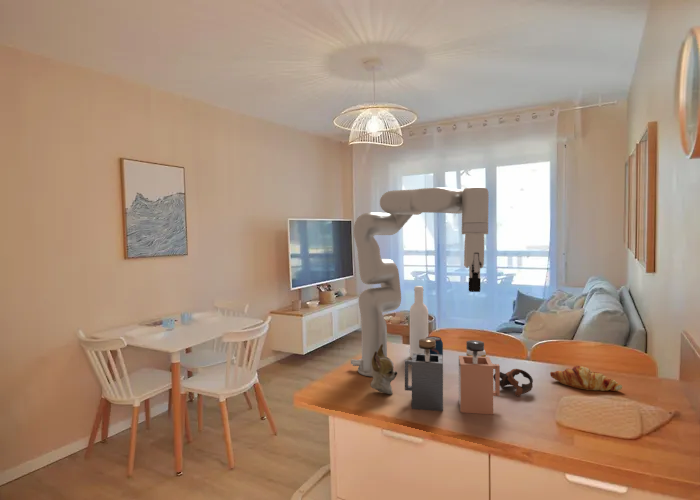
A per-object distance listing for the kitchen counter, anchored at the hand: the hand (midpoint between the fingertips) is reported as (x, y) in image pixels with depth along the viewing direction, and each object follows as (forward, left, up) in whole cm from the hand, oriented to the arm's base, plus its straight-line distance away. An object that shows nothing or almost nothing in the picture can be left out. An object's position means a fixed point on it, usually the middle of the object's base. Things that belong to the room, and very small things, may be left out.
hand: (474, 291), depth 122 cm
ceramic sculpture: (-28, +6, -35) cm, 45 cm away
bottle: (-18, +49, -35) cm, 63 cm away
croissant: (+38, +24, -35) cm, 57 cm away
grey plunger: (0, 0, -33) cm, 33 cm away
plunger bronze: (-14, 0, -33) cm, 36 cm away
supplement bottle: (+3, +27, -35) cm, 44 cm away
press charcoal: (-15, 0, -35) cm, 38 cm away
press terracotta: (+1, 0, -35) cm, 35 cm away
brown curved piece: (+14, +15, -35) cm, 41 cm away
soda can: (-12, +34, -35) cm, 50 cm away
